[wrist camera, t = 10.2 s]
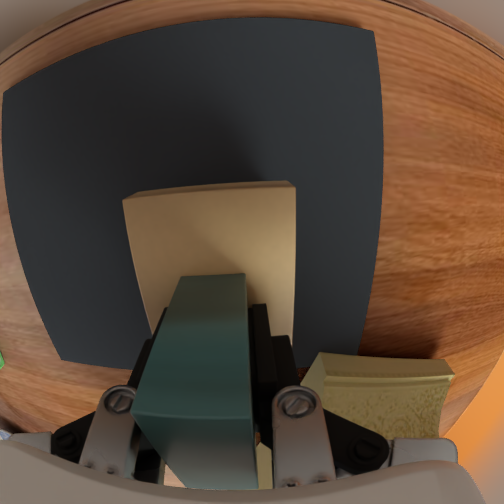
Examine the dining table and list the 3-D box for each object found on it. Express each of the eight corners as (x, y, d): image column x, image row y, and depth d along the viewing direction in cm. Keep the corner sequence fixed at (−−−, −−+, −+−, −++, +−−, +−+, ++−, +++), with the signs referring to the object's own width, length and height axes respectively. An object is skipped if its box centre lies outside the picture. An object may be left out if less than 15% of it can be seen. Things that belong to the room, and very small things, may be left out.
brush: (150, 185, 12) (-2, 276, 3) (281, 175, 12) (386, 259, 3) (185, 364, 16) (162, 501, 7) (280, 360, 16) (304, 501, 7)
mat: (10, 92, 9) (3, 92, 9) (367, 35, 10) (373, 30, 9) (65, 354, 17) (61, 360, 16) (352, 352, 17) (356, 360, 16)
